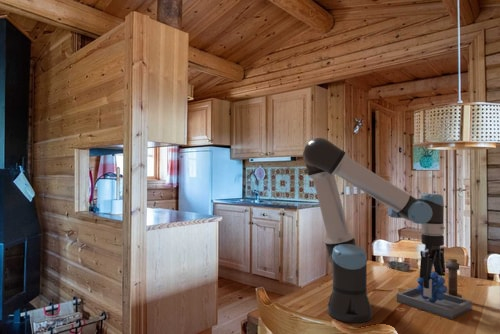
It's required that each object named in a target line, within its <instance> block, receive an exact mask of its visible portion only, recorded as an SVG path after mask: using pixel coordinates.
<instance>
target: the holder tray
mask: <svg viewBox="0 0 500 334" xmlns="http://www.w3.org/2000/svg"><path fill="white" fill-rule="evenodd" d="M421 293H422V292H419V291H418V290H417V286H414V287H412V288H409V289H406V290H403V291H400V292H398V293H396V302H397V303H401V304H404V305H405V306H409V307H412V308H415V309H419V310H421V311H424V312H427V313H430V314H433V315H437V316H440V317H442V318H445V319H449V320H451V321H452V320H454V319H456V318H458V317H460V316H462V315H464V314H466V313H467V312H469V311H472V309H473V305H472V304H473V303H472V300H469V299H466V298H463V297H462V298H459V297H456V296H452V295H449V294H445V293H443V294H444V299H443V300H438V299H437V301H436V302H434V303H432V302H430V301H429V298H428V299H426V300H425V299H423V298H422V296H421Z"/></svg>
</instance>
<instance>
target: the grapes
mask: <svg viewBox="0 0 500 334" xmlns="http://www.w3.org/2000/svg"><path fill="white" fill-rule="evenodd" d="M430 279H431V280H432V298H430V297H426V296H423V278H420V276H419V277H418V278H417V280H416V281H417V284H418V285H416V287H417V290H418V291H419V292H422V293H421V296H422V298H423V299H425V300H426V299H428V298H429V301H430V302H432V303H434V302H436V301H437V299H438V300H443V299H444V294H443V293H446V292H448V291H449V288H448V286H446V285H445V283H446V279H445V278H444V276H442V277H438V273H437V272H435V271H432V272H431V277H430Z"/></svg>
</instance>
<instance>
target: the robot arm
mask: <svg viewBox="0 0 500 334" xmlns="http://www.w3.org/2000/svg"><path fill="white" fill-rule="evenodd" d="M302 158H303V163H305V168H306V172H307V175H308V177H309V178H310V179H312V181H313V184H314V188H315V193H316V197H317V200H318V205H319V209H320V211H321V216H322V220H323V221H322V222H323V225H324V228H325V232H326V235H327V238H325V241H324V243H325V247H326V248H325V249H326V252H327V258H328V262H329V263H330V265H331V269H332V291H331V294H330V297H329V300H328V303H327V314H328V315H329V316H330V317H332V318H334V319H336V320H338V321H342V322H345V323H352V324H353V323H354V324H355V323H356V324H358V323H366V322H369V321H370V320H372V318H373V309H372V306H371V303H370V299H369V296H368V292H367V285H368V283H367V276H368V275H367V267H368V264H367V262H368V257H367V251H366V250H365V249H364V248H363V247H361V246H358V245H357V242H356V239H355V236H354V235H353V234H351V232H350V231H349V227H348V223H347V221H346V220H347V219H346V216H345V215H346V214H345V212H344V207H343V204H342V200H341V197H340V191H339V187H338V184H337V181H336V176H338V177H340V178H341V179H343V180H344V181H346V182H347V183H349V184H350V185H352V186H354V187H356V188H357V189H359V190H361V191H362V192H364V194H367V195H369V196H370V197H372V198H373V199H375V200H376V201H377V202H378V201H379V202H380V203H382V204H383V205H385V206H387V213H388V215H389V217H391V218H394V219H395V218H396V219H405V220H407V221H410V222H412V223H414V224H419V225H421V228H420V229H421V230H420V231H421V244H423V245H424V246H425V247H424V250H420V252H419V253H420V262H419V263H420V266H419V267H420V268H419V277H420V278H423V296H426V297H430V298H432V280H431V279H430V277H431V272H433V271H432V270H434V272H437V273H438V277H445V276H446V262H445V248H444V247H441V246H444V245H445V237H444V230H445V226H444V210H445V209H444V207H445V205H444V197H443V195H442V194H440V193H422V194H421V195H420V198H415V197H414V196H412V195H410V194H409V193H407V192H406V191H404V190H402V188H399V187H398V186H396V185H394V184H392V183H391V182H389V181H388V180H386V179H385V178H383V177H382V176H379V175H378V174H377V173H375V172H373V171H371V170H370V169H368V168H367V167H365V166H363V165H361V164H360V163H359V162H357V161H355V160H353V159H352V158H350V157H349V156H348V154H347V152H346V151H344V150H343V149H341V148H339V146H337V145H336V144H334V143H333V142H332V141H330V140H328V139H326V138H323V137H315V138H312V139H311V140H309V141H308V142H307V143H306V144H305V147H304V149H303V152H302ZM335 175H336V176H335ZM433 268H434V269H433Z"/></svg>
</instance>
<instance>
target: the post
mask: <svg viewBox="0 0 500 334" xmlns="http://www.w3.org/2000/svg"><path fill="white" fill-rule="evenodd" d="M447 260H448V261H446V262H445V269H448V270H447V272H448V291H447V292H446V293H445V294H449V295H452V296H456V297H459V298H463V296H462V294H460V293H458V271H459V270H460V263H459V262H458V260H457V259H455V258H448V259H447Z"/></svg>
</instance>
